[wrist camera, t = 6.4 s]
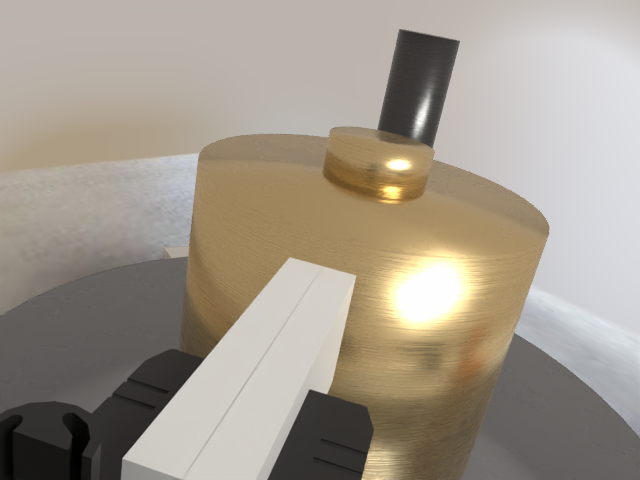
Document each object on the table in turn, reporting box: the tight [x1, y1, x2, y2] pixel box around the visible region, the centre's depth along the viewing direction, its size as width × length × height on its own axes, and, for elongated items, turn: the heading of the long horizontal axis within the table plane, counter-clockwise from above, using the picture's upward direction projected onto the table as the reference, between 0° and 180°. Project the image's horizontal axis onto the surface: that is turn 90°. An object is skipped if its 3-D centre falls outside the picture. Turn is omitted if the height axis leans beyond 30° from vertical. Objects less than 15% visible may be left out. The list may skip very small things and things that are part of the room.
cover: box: [178, 127, 549, 480], centre depth 18 cm, size 10×10×9 cm
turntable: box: [0, 29, 640, 480], centre depth 18 cm, size 24×24×13 cm
